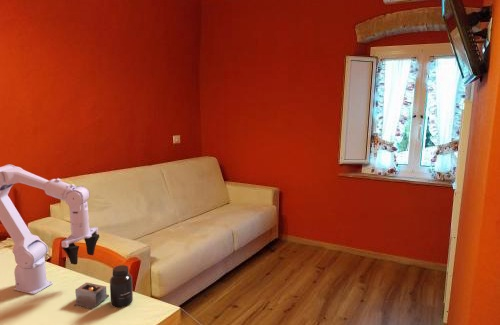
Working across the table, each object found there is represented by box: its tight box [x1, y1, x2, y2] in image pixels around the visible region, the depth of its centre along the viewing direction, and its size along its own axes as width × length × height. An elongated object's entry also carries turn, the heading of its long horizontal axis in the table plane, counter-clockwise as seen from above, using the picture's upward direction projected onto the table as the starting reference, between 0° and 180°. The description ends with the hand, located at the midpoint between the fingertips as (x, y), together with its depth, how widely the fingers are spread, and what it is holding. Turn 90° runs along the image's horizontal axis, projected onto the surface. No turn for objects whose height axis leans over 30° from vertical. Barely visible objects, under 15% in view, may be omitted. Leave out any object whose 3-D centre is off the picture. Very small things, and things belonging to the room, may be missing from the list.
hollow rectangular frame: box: [75, 281, 108, 306], centre depth 114 cm, size 8×5×4 cm, turn 72°
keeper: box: [73, 287, 110, 310], centre depth 114 cm, size 7×8×5 cm
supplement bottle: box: [109, 264, 134, 309], centre depth 113 cm, size 7×7×12 cm
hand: (82, 259), depth 122 cm, fingers open, 7 cm apart
